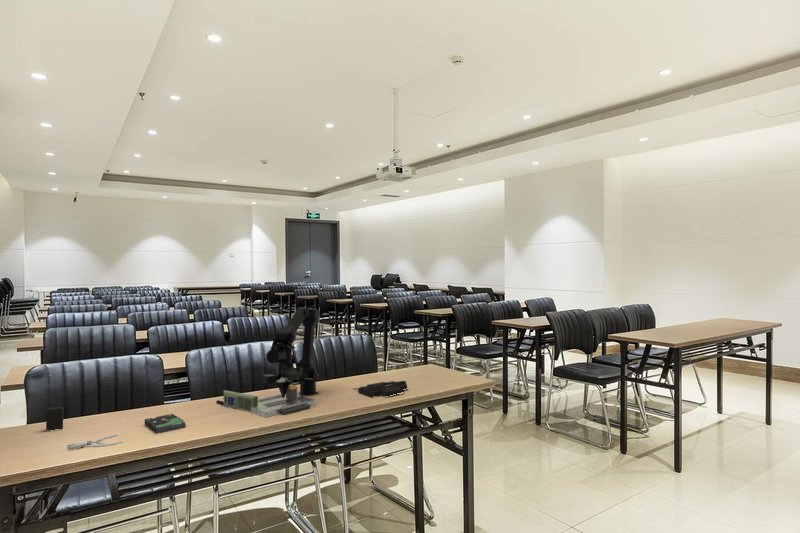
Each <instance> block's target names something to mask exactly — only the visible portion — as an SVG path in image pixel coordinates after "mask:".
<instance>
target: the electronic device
mask: <svg viewBox="0 0 800 533" xmlns="http://www.w3.org/2000/svg"><path fill="white" fill-rule="evenodd" d="M406 388H407V389H408V384H407V382H406V380H400V381H399V380H398V381H396V380H391V381H386V382H385V381H381V382H375V383H370V384H366V385H365V386H360V387H356V388H353V390H357V392H358V393H359V394H361V395H364V396H366V395H367V396H366V397H369V396H370V397H369V398H374V397H373V396H377V397H379V396H378V395H384V396H390V395H393V394H397V393H401V392H404V393H405V391H404V390H403V389H406ZM384 396H383V397H384Z"/></svg>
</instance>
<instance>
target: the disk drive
mask: <svg viewBox="0 0 800 533" xmlns="http://www.w3.org/2000/svg"><path fill="white" fill-rule="evenodd" d="M186 424H187V423H186V422H185V420H184V419H182V418H181V417H180V416H177V415H176V414H174V413H170V414H165V415H159V416H156V417H153V418H152V417H150V418H149V417H148V418H145V419H144V426H145V425H146V427H147V428H148V427H149V428H150V429H149V430H151V431H152V432H153V431H154V432H155V434H156V435H157V434H158V433H159V434H164V433H168V432H172V431H176V430H180V429H185V428H186ZM154 432H153V433H154Z"/></svg>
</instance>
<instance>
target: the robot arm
mask: <svg viewBox="0 0 800 533" xmlns="http://www.w3.org/2000/svg"><path fill="white" fill-rule="evenodd" d="M320 317H321V312H320V311H319V310H318V308H307V307H297V308H296V309H295V312H294V313H293V315H292V317H291V318H290V320H289V321H288V322H287V324H286V325H285V326H283V327H281V328H280V329H278V331H277V332H276V334H275V335H274V336H275V337H274V339H273V342H272V344H271V347H270V350H269V351H267V354H266V355H265V356H266V361H267V362H268V363H269V364H273V365H274V364H275V366H277V371H276V372H275V375H274V374H263V375H262V376H261V377H260V378H261V379H260V380H261V381H260V382H261V383H265V384H267V385H268V384H276V386H277V387H278V390H279V392H280V394H281V395H282V398H285V396H286V392H287V389H288V387H289V385H292V384H293V383H295V381H297V382H300V384H299V388H300V389H299V392H298V395H302V396H305V397H307V396H311V395H316V394H318V393H319V392H318V391H317V390H316V388H317V381H319V378H320V374H319V372H318V371H317V369H316V363H315V361H314V359H313V357H314V356H313V355H314V354H313V353H314V342H315V329H316V327H317V325H318V324H319V322H320ZM301 325H302V326H303V339H302V350H301V351H302V352H301V359H300V361H297V363H296V367H294V365H295V364H294V363H293V361H292V358H293V350H294V349H295V347H294V345H293V344H294V343H295V341H296V339H297V335H296V333H297V331H298V329H299V328H300V327H301Z"/></svg>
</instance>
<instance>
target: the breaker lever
mask: <svg viewBox="0 0 800 533" xmlns="http://www.w3.org/2000/svg"><path fill="white" fill-rule="evenodd" d="M297 395H298V385H295V384H290V385H289V387H288V389H287V392H286V394H285V396H286V399H289V400H294V399H297Z"/></svg>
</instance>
